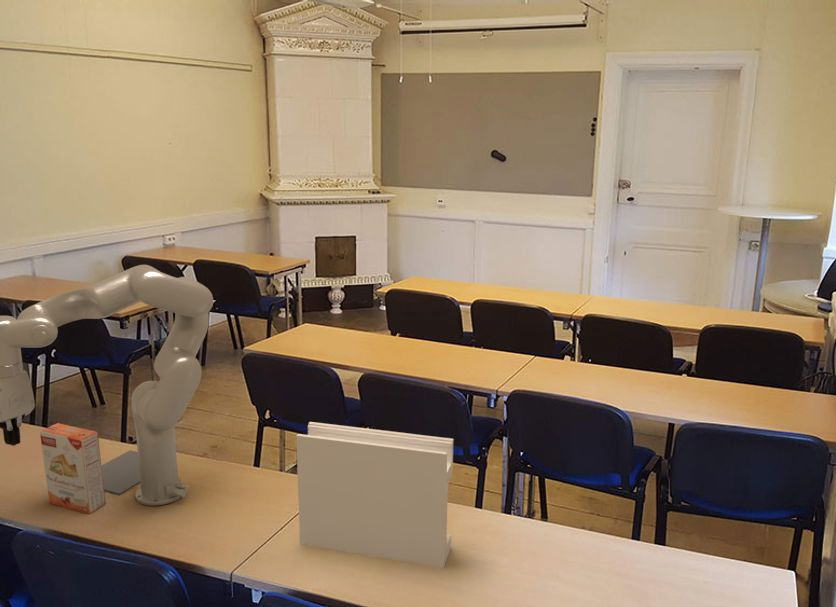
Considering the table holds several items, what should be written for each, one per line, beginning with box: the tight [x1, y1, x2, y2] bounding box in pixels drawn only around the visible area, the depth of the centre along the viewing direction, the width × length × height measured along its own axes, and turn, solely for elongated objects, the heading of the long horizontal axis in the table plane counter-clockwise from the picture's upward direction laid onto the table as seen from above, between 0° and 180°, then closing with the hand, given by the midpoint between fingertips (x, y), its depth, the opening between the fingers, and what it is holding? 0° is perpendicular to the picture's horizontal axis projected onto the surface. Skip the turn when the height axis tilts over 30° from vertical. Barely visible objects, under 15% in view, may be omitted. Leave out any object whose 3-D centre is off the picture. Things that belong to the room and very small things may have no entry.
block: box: [295, 421, 454, 568], centre depth 167 cm, size 35×8×28 cm, turn 75°
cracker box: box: [39, 422, 107, 515], centre depth 185 cm, size 14×6×21 cm, turn 68°
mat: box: [101, 449, 141, 497], centre depth 205 cm, size 17×21×1 cm
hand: (12, 443), depth 170 cm, fingers closed
